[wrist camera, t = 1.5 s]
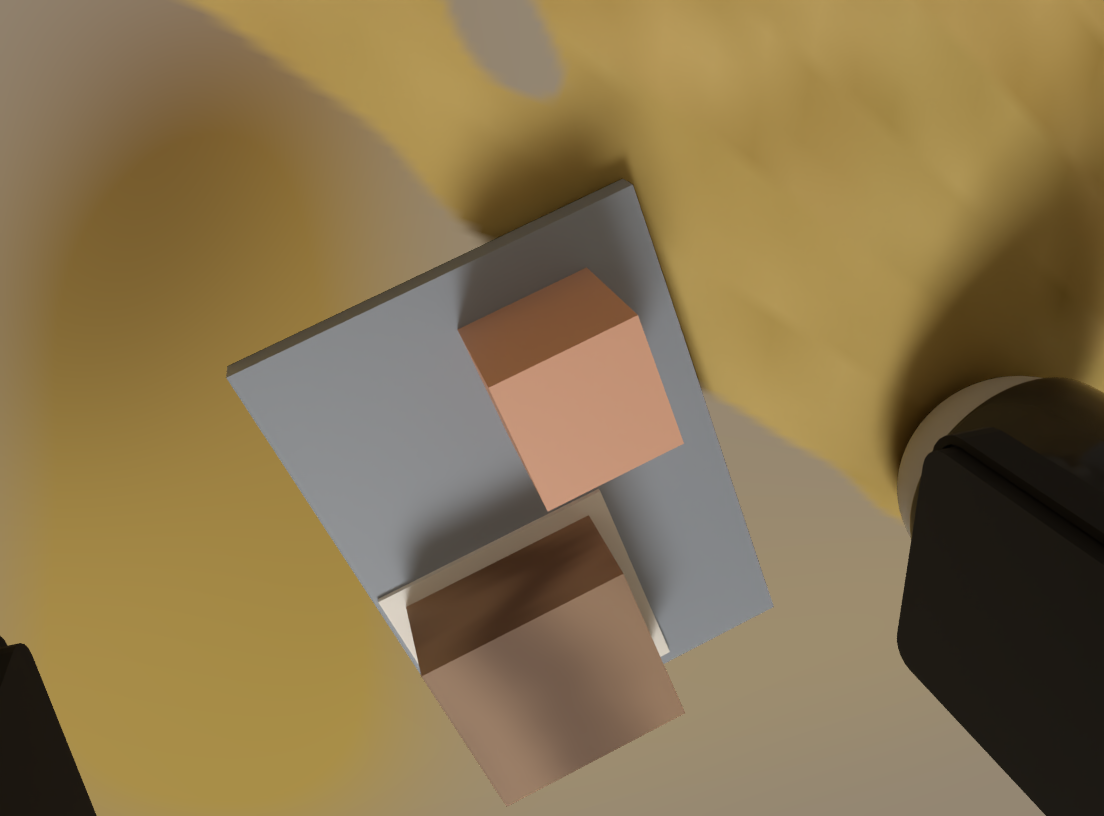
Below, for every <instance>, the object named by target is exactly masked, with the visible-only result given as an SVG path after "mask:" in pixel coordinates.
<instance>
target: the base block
mask: <svg viewBox="0 0 1104 816" xmlns="http://www.w3.org/2000/svg"><path fill="white" fill-rule="evenodd" d="M406 610H407V614H408V619H409V623H410V628H411V632H412V637H413V641H414V646H415V650H416V655H417V659H418V664H419V668H420V673H421V677H422V678H423V680H424V681H425V683H426V684H427V686H428V687H429V689H430V690H431V692H432V693H433V695H434V697H435V698H436V700H437V701H438V702H439V704H440V706H441V707H442V709H443V710H444V712H445V713H446V715H447V716H448V718H449V719H450V721H451V723H452V724H453V725H454V727H455V729H456V730H457V732H458V733H459V735H460V736H461V738H462V739H463V741H464V742H465V744H466V745H467V747H468V748H469V750H470V751H471V753H472V755H473V756H474V758H475V759H476V761H477V762H478V764H479V765H480V767H481V768H482V770H483V771H484V773H485V774H486V776H487V777H488V779H489V780H490V782H491V784H492V785H493V787H494V788H495V790H496V791H497V793H498V794H499V796H500V797H501V799H502V800H503V802H504V803H505V805H506V806H509V805H511V804H513V803H515V802H517V801H519V800H520V799H522V798H524V797H526V796H528V795H530V794H532V793H534V792H536V791H538V790H539V789H541V788H543V787H545V786H547V785H549V784H551V783H553V782H555V781H557V780H558V779H560V778H562V777H564V776H566V775H568V774H570V773H572V772H574V771H576V770H578V769H580V768H581V767H583V766H585V765H587V764H589V763H591V762H593V761H595V760H597V759H598V758H600V757H602V756H604V755H606V754H608V753H610V752H612V751H614V750H616V749H618V748H620V747H621V746H623V745H625V744H627V743H629V742H631V741H633V740H635V739H637V738H639V737H641V736H642V735H644V734H646V733H648V732H650V731H652V730H654V729H656V728H658V727H659V726H661V725H663V724H665V723H667V722H669V721H671V720H673V719H675V718H677V717H679V716H681V715H682V714H684V713H685V712H684V709H683V707H682V705H681V702H680V700H679V698H678V696H677V693H676V691H675V689H674V687H673V684H672V682H671V680H670V678H669V675H668V673H667V671H666V668H665V666H664V664H663V662H662V659H661V657H660V655H659V653H658V650H657V648H656V646H655V644H654V641H653V639H652V637H651V635H650V632H649V630H648V628H647V626H646V623H645V621H644V619H643V617H642V614H641V612H640V610H639V608H638V605H637V603H636V601H635V599H634V596H633V594H632V592H631V589H630V587H629V585H628V583H627V580H626V578H625V576H624V574H623V572H622V570H621V569H620V567H619V565H618V564H617V562H616V560H615V559H614V557H613V555H612V553H611V552H610V550H609V548H608V547H607V545H606V543H605V542H604V540H603V538H602V537H601V535H600V533H599V532H598V530H597V528H596V526H595V525H594V523H593V521H592V520H591V518H590V516H589V515H588V516H586V517H584V518H582V519H580V520H578V521H576V522H574V523H572V524H570V525H568V526H566V527H564V528H562V529H560V530H558V531H556V532H554V533H552V534H550V535H548V536H546V537H544V538H542V539H540V540H538V541H536V542H534V543H532V544H530V545H528V546H526V547H524V548H522V549H520V550H518V551H517V552H515V553H513V554H511V555H509V556H507V557H505V558H503V559H501V560H499V561H497V562H495V563H493V564H491V565H489V566H487V567H485V568H483V569H481V570H479V571H477V572H475V573H473V574H471V575H469V576H467V577H465V578H463V579H461V580H459V581H457V582H455V583H453V584H451V585H449V586H447V587H445V588H443V589H441V590H439V591H437V592H435V593H433V594H431V595H429V596H427V597H425V598H423V599H421V600H419V601H417V602H415V603H413V604H411V605H409V606H407V607H406Z"/></svg>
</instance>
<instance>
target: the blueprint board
mask: <svg viewBox="0 0 1104 816" xmlns="http://www.w3.org/2000/svg"><path fill="white" fill-rule="evenodd" d="M586 267H587V268H588V269H589V270H590V271H591V272H592V273H593V274H594V275H595V276H596V277H598V278H599V279H600V280H601V281H602V282H603V283H604V284H605V285H606V286H607V287H608V288H609V289H610V290H612V291H613V292H614V293H615V294H616V295H617V296H618V297H619V298H620V299H621V300H622V301H623V302H624V303H625V304H627V305H628V306H629V307H630V308H631V309H632V310H633V311H634V312H635V313H636V314H637V315H638V317H639V319H640V322H641V325H642V328H643V331H644V333H645V336H646V339H647V342H648V344H649V347H650V350H651V353H652V356H653V358H654V361H655V364H656V367H657V370H658V372H659V375H660V378H661V381H662V383H663V386H664V389H665V392H666V395H667V397H668V400H669V403H670V406H671V409H672V411H673V414H674V417H675V420H676V423H677V425H678V428H679V431H680V434H681V436H682V439H683V442H684V444H682V445H680V446H678V447H676V448H674V449H672V450H670V451H668V452H666V453H664V454H662V455H660V456H658V457H656V458H654V459H652V460H650V461H648V462H646V463H644V464H642V465H640V466H638V467H636V468H634V469H632V470H630V471H628V472H626V473H624V474H622V475H620V476H618V477H616V478H614V479H612V480H610V481H608V482H606V483H604V484H602V485H600V486H598V487H596V488H594V489H592V490H590V491H588V492H586V493H584V494H582V495H580V496H578V497H576V498H574V499H572V500H570V501H568V502H566V503H564V504H562V505H560V506H558V507H556V508H554V509H552V510H550V511H547V509H546V507H545V505H544V503H543V502H542V500H541V498H540V496H539V494H538V492H537V490H536V488H535V486H534V484H533V482H532V480H531V479H530V477H529V475H528V473H527V471H526V469H525V467H524V465H523V463H522V461H521V459H520V457H519V456H518V454H517V452H516V450H515V448H514V446H513V444H512V442H511V440H510V438H509V436H508V434H507V432H506V430H505V428H504V426H503V423H502V421H501V419H500V417H499V415H498V413H497V411H496V409H495V407H494V405H493V403H492V401H491V399H490V396H489V394H488V392H487V390H486V388H485V386H484V384H483V382H482V380H481V378H480V376H479V374H478V372H477V369H476V367H475V365H474V363H473V361H472V359H471V357H470V355H469V353H468V351H467V349H466V347H465V345H464V342H463V340H462V338H461V336H460V334H459V332H458V330H457V329H460V328H462V327H464V326H466V325H468V324H470V323H472V322H474V321H476V320H478V319H480V318H482V317H485V316H487V315H489V314H491V313H493V312H495V311H497V310H499V309H501V308H503V307H505V306H507V305H509V304H512V303H514V302H516V301H518V300H520V299H522V298H524V297H526V296H528V295H530V294H532V293H534V292H537V291H539V290H541V289H543V288H545V287H547V286H549V285H551V284H553V283H555V282H557V281H559V280H561V279H564V278H566V277H568V276H570V275H572V274H574V273H576V272H578V271H580V270H582V269H584V268H586ZM226 378H227V379H228V381H229V383H230V384H231V386H232V387H233V388H234V390H235V392H236V393H237V395H238V396H239V398H240V399H241V401H242V402H243V404H244V405H245V407H246V408H247V410H248V412H249V413H250V415H251V416H252V418H253V419H254V421H255V422H256V424H257V425H258V426H259V428H260V430H261V431H262V433H263V434H264V436H265V438H266V439H267V440H268V442H269V444H270V445H271V447H272V448H273V450H274V451H275V453H276V454H277V456H278V457H279V459H280V460H281V461H282V463H283V465H284V467H285V468H286V470H287V471H288V473H289V474H290V476H291V477H292V479H293V480H294V482H295V483H296V485H297V486H298V488H299V489H300V491H301V493H302V494H303V496H304V497H305V499H306V500H307V502H308V503H309V505H310V506H311V508H312V509H313V511H314V512H315V514H316V515H317V516H318V518H319V520H320V522H321V523H322V525H323V526H324V528H325V529H326V531H327V532H328V534H329V535H330V537H331V538H332V540H333V541H334V543H335V544H336V546H337V548H338V549H339V550H340V552H341V554H342V555H343V557H344V558H345V560H346V561H347V563H348V564H349V566H350V567H351V569H352V570H353V572H354V573H355V575H356V577H357V578H358V580H359V581H360V583H361V584H362V586H363V587H364V589H365V590H366V592H367V593H368V595H369V596H370V598H371V599H372V601H373V603H374V604H375V605H376V607H377V609H378V610H379V612H380V613H381V615H382V616H383V618H384V619H385V621H386V622H387V624H388V625H389V627H390V628H391V630H392V632H393V633H394V635H395V636H396V638H397V639H398V640H399V642H400V643H401V645H402V647H403V648H404V649H405V651H406V653H407V654H408V656H409V657H410V659H411V661H412V662H413V664H414V665H415V667H416V668H417V670H418V671H419V673H420V668H419V664H418V659H417V655H416V650H415V646H414V641H413V637H412V632H411V628H410V623H409V619H408V614H407V610H406V607H407V606H409V605H411V604H413V603H415V602H417V601H419V600H421V599H423V598H425V597H427V596H429V595H431V594H433V593H435V592H437V591H439V590H441V589H443V588H445V587H447V586H449V585H451V584H453V583H455V582H457V581H459V580H461V579H463V578H465V577H467V576H469V575H471V574H473V573H475V572H477V571H479V570H481V569H483V568H485V567H487V566H489V565H491V564H493V563H495V562H497V561H499V560H501V559H503V558H505V557H507V556H509V555H511V554H513V553H515V552H517V551H518V550H520V549H522V548H524V547H526V546H528V545H530V544H532V543H534V542H536V541H538V540H540V539H542V538H544V537H546V536H548V535H550V534H552V533H554V532H556V531H558V530H560V529H562V528H564V527H566V526H568V525H570V524H572V523H574V522H576V521H578V520H580V519H582V518H584V517H586V516H588V515H589V516H590V518H591V520H592V521H593V523H594V525H595V526H596V528H597V530H598V532H599V533H600V535H601V537H602V538H603V540H604V542H605V543H606V545H607V547H608V548H609V550H610V552H611V553H612V555H613V557H614V559H615V560H616V562H617V564H618V565H619V567H620V569H621V570H622V572H623V574H624V576H625V578H626V580H627V583H628V585H629V587H630V589H631V592H632V594H633V596H634V599H635V601H636V603H637V605H638V608H639V610H640V612H641V614H642V617H643V619H644V621H645V623H646V626H647V628H648V630H649V632H650V635H651V637H652V639H653V641H654V644H655V646H656V648H657V650H658V653H659V655H660V657H661V659H662V662H663V664H664V663H666V662H668V661H670V660H672V659H674V658H676V657H678V656H680V655H681V654H684V653H685V652H688V651H689V650H691V649H693V648H695V647H697V646H699V645H701V644H703V643H705V642H707V641H708V640H711V639H713V638H715V637H716V636H718V635H720V634H722V633H724V632H726V631H728V630H730V629H732V628H734V627H735V626H738V625H740V624H741V623H743V622H745V621H747V620H749V619H751V618H753V617H755V616H757V615H759V614H761V613H763V612H764V611H766V610H768V609H770V608H772V607H773V603H772V600H771V597H770V595H769V591H768V588H767V586H766V582H765V579H764V576H763V573H762V570H761V567H760V564H759V561H758V558H757V555H756V552H755V550H754V546H753V543H752V540H751V537H750V534H749V531H748V529H747V525H746V523H745V520H744V517H743V513H742V511H741V508H740V505H739V501H738V498H737V495H736V492H735V489H734V487H733V483H732V480H731V477H730V475H729V471H728V469H727V465H726V463H725V459H724V456H723V454H722V450H721V448H720V445H719V442H718V438H717V436H716V432H715V430H714V427H713V424H712V421H711V417H710V414H709V412H708V408H707V406H706V402H705V399H704V396H703V393H702V390H701V387H700V384H699V381H698V378H697V375H696V372H695V369H694V366H693V363H692V360H691V357H690V354H689V351H688V348H687V345H686V342H685V339H684V336H683V333H682V330H681V327H680V324H679V321H678V318H677V315H676V312H675V309H674V306H673V303H672V300H671V297H670V294H669V291H668V288H667V285H666V282H665V279H664V276H663V273H662V270H661V267H660V264H659V261H658V258H657V255H656V253H655V250H654V247H653V244H652V241H651V238H650V235H649V232H648V229H647V226H646V223H645V220H644V217H643V214H642V211H641V208H640V205H639V202H638V199H637V196H636V193H635V190H634V187H633V184H631V183H629V182H628V181H626V180H624V179H621V180H619V181H617V182H615V183H612V184H610V185H608V186H606V187H604V188H602V189H600V190H598V191H596V192H594V193H591V194H589V195H587V196H585V197H583V198H581V199H579V200H577V201H575V202H572V203H570V204H568V205H566V206H564V207H562V208H560V209H558V210H556V211H553V212H551V213H549V214H547V215H545V216H543V217H541V218H539V219H537V220H534V221H532V222H530V223H528V224H526V225H524V226H522V227H520V228H518V229H516V230H513V231H511V232H509V233H507V234H505V235H503V236H501V237H499V238H497V239H494V240H492V241H490V242H488V243H486V244H484V245H482V246H480V247H478V248H476V249H474V250H471V251H469V252H467V253H465V254H463V255H461V256H459V257H457V258H455V259H452V260H451V261H448V262H446V263H444V264H442V265H440V266H438V267H435V268H433V269H431V270H429V271H427V272H425V273H423V274H421V275H419V276H416V277H414V278H412V279H410V280H408V281H406V282H404V283H402V284H400V285H398V286H395V287H393V288H391V289H389V290H387V291H385V292H383V293H381V294H379V295H377V296H374V297H372V298H370V299H368V300H366V301H364V302H362V303H360V304H358V305H355V306H353V307H351V308H349V309H347V310H345V311H343V312H341V313H339V314H336V315H334V316H332V317H330V318H328V319H326V320H324V321H322V322H320V323H318V324H315V325H313V326H311V327H309V328H307V329H305V330H303V331H301V332H298V333H297V334H294V335H292V336H290V337H288V338H286V339H284V340H282V341H280V342H277V343H275V344H273V345H271V346H269V347H267V348H265V349H263V350H261V351H258V352H256V353H254V354H252V355H250V356H248V357H246V358H244V359H242V360H239V361H237V362H235V363H233V364H231V365H229V366H227V377H226ZM420 674H421V673H420Z"/></svg>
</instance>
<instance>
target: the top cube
mask: <svg viewBox="0 0 1104 816" xmlns="http://www.w3.org/2000/svg"><path fill="white" fill-rule="evenodd" d="M457 330H458V332H459V334H460V336H461V338H462V340H463V342H464V345H465V347H466V349H467V351H468V353H469V355H470V357H471V359H472V361H473V363H474V365H475V367H476V369H477V372H478V374H479V376H480V378H481V380H482V382H483V384H484V386H485V388H486V390H487V392H488V394H489V396H490V399H491V401H492V403H493V405H494V407H495V409H496V411H497V413H498V415H499V417H500V419H501V421H502V423H503V426H504V428H505V430H506V432H507V434H508V436H509V438H510V440H511V442H512V444H513V446H514V448H515V450H516V452H517V454H518V456H519V457H520V459H521V461H522V463H523V465H524V467H525V469H526V471H527V473H528V475H529V477H530V479H531V480H532V482H533V484H534V486H535V488H536V490H537V492H538V494H539V496H540V498H541V500H542V502H543V503H544V505H545V507H546V509H547V511H550V510H552V509H554V508H556V507H558V506H560V505H562V504H564V503H566V502H568V501H570V500H572V499H574V498H576V497H578V496H580V495H582V494H584V493H586V492H588V491H590V490H592V489H594V488H596V487H598V486H600V485H602V484H604V483H606V482H608V481H610V480H612V479H614V478H616V477H618V476H620V475H622V474H624V473H626V472H628V471H630V470H632V469H634V468H636V467H638V466H640V465H642V464H644V463H646V462H648V461H650V460H652V459H654V458H656V457H658V456H660V455H662V454H664V453H666V452H668V451H670V450H672V449H674V448H676V447H678V446H680V445H682V444H684V442H683V439H682V436H681V434H680V431H679V428H678V425H677V423H676V420H675V417H674V414H673V411H672V409H671V406H670V403H669V400H668V397H667V395H666V392H665V389H664V386H663V383H662V381H661V378H660V375H659V372H658V370H657V367H656V364H655V361H654V358H653V356H652V353H651V350H650V347H649V344H648V342H647V339H646V336H645V333H644V331H643V328H642V325H641V322H640V319H639V317H638V315H637V314H636V313H635V312H634V311H633V310H632V309H631V308H630V307H629V306H628V305H627V304H625V303H624V302H623V301H622V300H621V299H620V298H619V297H618V296H617V295H616V294H615V293H614V292H613V291H612V290H610V289H609V288H608V287H607V286H606V285H605V284H604V283H603V282H602V281H601V280H600V279H599V278H598V277H596V276H595V275H594V274H593V273H592V272H591V271H590V270H589V269H588V268H587V267H586V268H584V269H582V270H580V271H578V272H576V273H574V274H572V275H570V276H568V277H566V278H564V279H561V280H559V281H557V282H555V283H553V284H551V285H549V286H547V287H545V288H543V289H541V290H539V291H537V292H534V293H532V294H530V295H528V296H526V297H524V298H522V299H520V300H518V301H516V302H514V303H512V304H509V305H507V306H505V307H503V308H501V309H499V310H497V311H495V312H493V313H491V314H489V315H487V316H485V317H482V318H480V319H478V320H476V321H474V322H472V323H470V324H468V325H466V326H464V327H462V328H460V329H457Z"/></svg>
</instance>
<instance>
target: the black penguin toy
mask: <svg viewBox="0 0 1104 816" xmlns="http://www.w3.org/2000/svg"><path fill="white" fill-rule="evenodd" d="M984 427H994V428H997V429H999V430H1002V431H1003V432H1005V433H1006V434H1008V435H1010V436H1011V437H1013V438H1015V439H1016V440H1018V441H1019V442H1021V443H1023V444H1024V445H1026V446H1028V447H1029V448H1031V449H1032V450H1034V451H1036V452H1037V453H1039V454H1041V455H1042V456H1044V457H1045V458H1047V459H1049V460H1050V461H1052V462H1054V463H1055V464H1057V465H1058V466H1060V467H1062V468H1063V469H1065V470H1067V471H1068V472H1070V473H1071V474H1073V475H1075V476H1076V477H1078V478H1080V479H1081V480H1083V481H1084V482H1086V483H1088V484H1089V485H1091V486H1092V487H1094V488H1096V489H1097V490H1099V491H1101V492H1102V493H1104V393H1103V392H1101V391H1100V390H1098V389H1096V388H1094V387H1092V386H1090V385H1087V384H1085V383H1083V382H1080V381H1077V380H1073V379H1068V378H1058V377H1052V378H1040V377H1031V376H1007V377H999V378H994V379H989V380H985V381H982V382H979V383H976V384H973V385H971V386H968V387H966V388H964V389H962V390H960V391H958V392H957V393H955V394H953V395H951V396H950V397H948V398H947V399H945V400H944V401H943V402H942V403H940V404H939V405H938V406H937V407H936V408H934V409H933V410H932V411H931V412H930V413H929V414H928V415H927V416H926V418H925V419H924V420H923V421H922V422H921V424H920V425H919V426H918V428H917V429H916V430H915V432H914V434H913V435H912V437H911V439H910V440H909V442H908V444H907V446H906V449H905V451H904V454H903V457H902V460H901V464H900V467H899V473H898V482H897V495H898V503H899V509H900V513H901V516H902V519H903V522H904V524H905V527H906V529H907V532H908V533H909V535H910V537H911V539H912V533H913V526H914V520H915V513H916V506H917V500H918V493H919V487H920V480H921V474H922V467H923V463H924V459H925V457H926V456H927V455H928V453H930V452H932V451H933V448H934V445H935V444H936V442H937V441H938V440H939V439H940V438H942V437H944V436H945V435H950V434H955V433H960V432H965V431H969V430H974V429H979V428H984Z"/></svg>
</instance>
